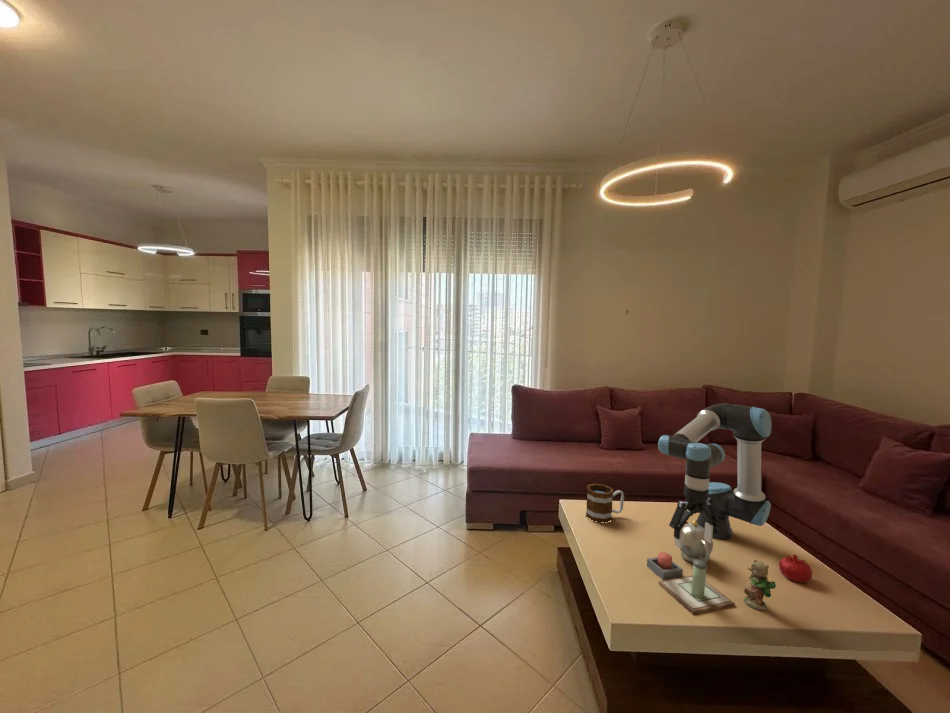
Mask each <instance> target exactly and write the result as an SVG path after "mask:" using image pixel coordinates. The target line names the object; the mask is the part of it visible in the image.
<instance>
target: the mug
mask: <svg viewBox="0 0 950 713" xmlns="http://www.w3.org/2000/svg"><path fill="white" fill-rule="evenodd" d="M586 491H587V495H586V497H587V498H586V511H585V512H586V513H585V518H586V517H588V518H590V519H591V520H593V521H597V522H604V523H605V522H608V521H610V520H612V519H613V518H612V514H613V513H615V514H620V513H622V512H623V509H624V502H625V500H624V499H625V494H624V492H623V491H622V490H620V489H618V490H615V491H614V488H612V487H610V486H609V485H606V484H599V483H591V484H588V485H587V486H586ZM618 494H620V502H619V503H620V505H619V508H618V509H617V510H615V509H613V498H614V497H616V496H617V495H618ZM591 520H590V521H591ZM612 521H613V520H612Z"/></svg>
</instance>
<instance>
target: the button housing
mask: <svg viewBox="0 0 950 713" xmlns="http://www.w3.org/2000/svg"><path fill="white" fill-rule="evenodd" d="M646 567H647V568H648V569H650V570H651V571H652V572H654V573H655V575H657V577H658V578H660V579H661V580H662V581H663V580H669V579H671V578H672V579H675V578H677V577H678V578H680V577H684V576H683V574H684V573H683V572H684V571H683V570H684V569H683V568H682V567H681V566H679V565H678V564H677V563H675V562H674V561H673V560H672V568H671V569H669V570H667V569H663V568H661V567H659V566H658V556H657V557H650V558H647V560H646Z"/></svg>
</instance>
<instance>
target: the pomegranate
mask: <svg viewBox="0 0 950 713" xmlns="http://www.w3.org/2000/svg"><path fill="white" fill-rule="evenodd" d="M778 567H779V571H780V572H781V574H782V575H783V576H784V577H785V578H786V579H788V580H790V581H792V582H797V583H807V582H809V581H810V580H811V579H812V577H813V570H812V568H811V567H812V566H810V565H809V564H808V562H807V561H806V560H804V559H799V556H798V555H797V554H795V553H793V554H792V556H791V555H790V554H788V556H786V557H785V556H784V557H783V558H781V560H779V562H778Z"/></svg>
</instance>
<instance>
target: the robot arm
mask: <svg viewBox="0 0 950 713" xmlns="http://www.w3.org/2000/svg"><path fill="white" fill-rule="evenodd" d="M772 425H773V424H772V417H771V415H770V413H769V412H768V410H766V409H765V408H760V407H756V406H749V405H742V404H736V403H735V404H732V403H726V402H723V403H715V404H713V405H710V406H707V407H705V408H704V409H701V410H700V411H699V412H698V413H697V414H696V417H695V418H694V419H692V420H691V421H690V422H689V423H687V424H686V425H685V426H683V427H682V428H681V429H680V430H678V431H677V432H675V433H674V434H673V435H669V434H668V435H667V434H663V435H661V436H660V437H659V439H658V442H657V446H658V447H657V448H658V451H659V452H660V453H661V454H664V455H667V456H668V457H669V456H671V457H675V458H679V459H683V460H685V472H684V473H685V474H684V475H685V476H684V492H683V494H684V498H685V501H681V500H678V501H677V505H676V509H675V511H674V513H673V515H672V517H671V520H670V522H669V523H668V525H669V527H670V528H672V529H673V537H674V546H676V547H677V548H680V549H682V540H683V530H681V529H682V528H683V526H684V525H685V523H686V522H688V520H689V519H690V517H692V516H693V515H695V514H697V513H698V516H697V519H696V520H695V521H697V523H698V525H699V526H701V527H703V528H704V529H705V532H704V540H706V541H707V542H709V543H712V541H713V538H714V539H718V540H729V539H731V538H732V537H733V529H732V527H731V522H730V517H731V518H735V519H738V520H740V521H743V522H746V523H749V524H750V525H755V526H758V527H762V526H764V525H765V524H766V522H767V520H768V518H769V515H770V512H771V508H772V507H771V506H772V504H771V501H769V500H766V495H765V493H764V492H763V491H762V443H763V442H764V441H766V439H767V438H768V437H770V436H771V433H772ZM718 429H723V430H729V431H732V436H733V437H734V438H735V439H736V443H737V444H736V445H737V446H736V448H737V449H736V451H737V453H736V454H737V456H736V457H737V459H736V461H737V467H736V468H737V470H736V471H737V487H736V488H734V489H733V490H732V487H731V486H730V485H729V484H727V483H723V482H713V481H712V482H711V481H710V472H711V468H712V467H715V466H718V465H719V464H721V463H722V462H723V461H724V460H725V459H726V458H725V457H726V451H725V450H724V448H723V447H722V446H720V445H719V444H717V443H707V444H706V443H702V442H699V441H700V440H701V439H703V438H704V437H705V436H707V435H708V434H709V433H710V432H711V431H716V430H718ZM680 549H679V550H680Z"/></svg>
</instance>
